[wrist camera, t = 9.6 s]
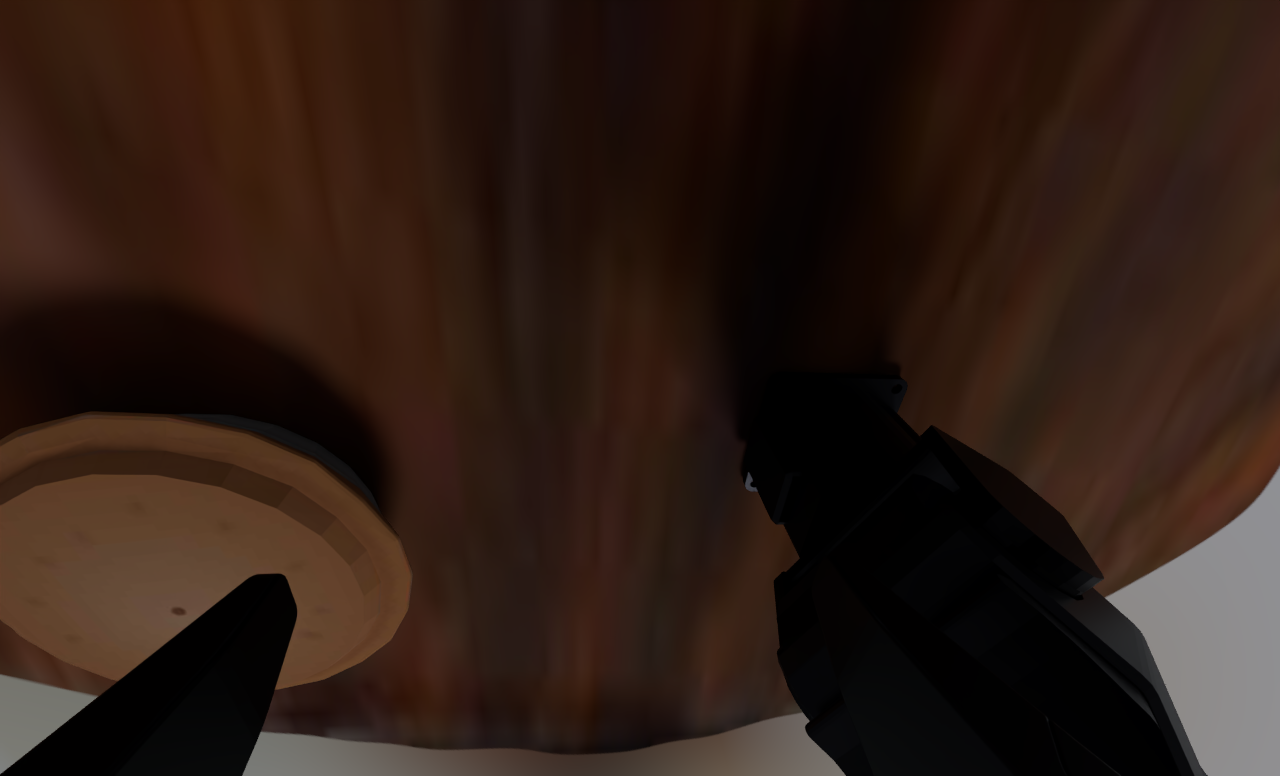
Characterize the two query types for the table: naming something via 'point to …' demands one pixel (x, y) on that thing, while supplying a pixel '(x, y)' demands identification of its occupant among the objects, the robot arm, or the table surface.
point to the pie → (189, 538)
